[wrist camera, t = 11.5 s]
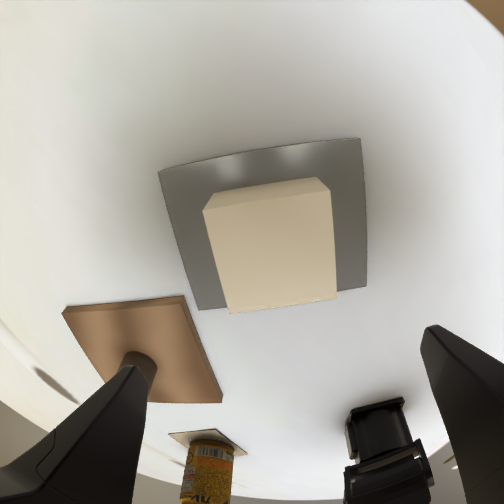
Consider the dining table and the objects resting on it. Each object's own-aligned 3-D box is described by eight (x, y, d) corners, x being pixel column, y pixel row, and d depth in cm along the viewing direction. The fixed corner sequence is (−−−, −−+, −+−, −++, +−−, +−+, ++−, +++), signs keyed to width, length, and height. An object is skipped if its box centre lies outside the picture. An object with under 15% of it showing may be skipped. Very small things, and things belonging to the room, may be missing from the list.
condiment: (203, 458, 33) (194, 526, 22) (168, 433, 30) (150, 511, 19) (248, 453, 32) (245, 528, 21) (215, 427, 28) (204, 517, 18)
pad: (357, 137, 15) (360, 138, 15) (363, 282, 19) (366, 286, 19) (160, 170, 16) (157, 172, 16) (200, 305, 21) (198, 310, 20)
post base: (183, 296, 20) (156, 366, 14) (222, 395, 25) (215, 456, 19) (66, 306, 21) (26, 357, 15) (120, 392, 26) (100, 442, 20)
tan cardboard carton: (324, 267, 18) (336, 298, 15) (234, 281, 19) (229, 313, 16) (316, 176, 16) (330, 190, 13) (213, 193, 16) (202, 210, 13)
